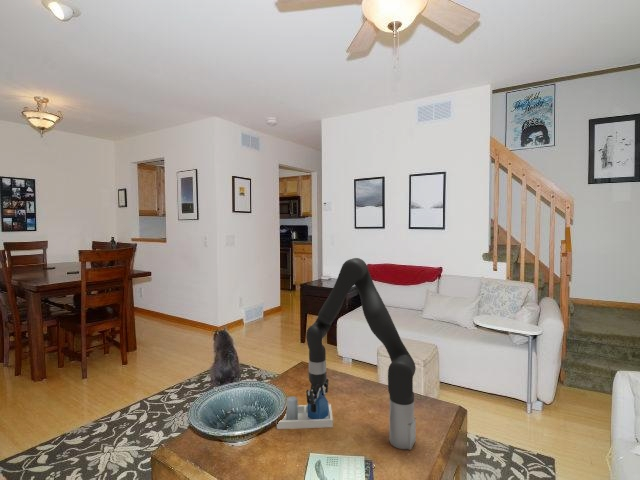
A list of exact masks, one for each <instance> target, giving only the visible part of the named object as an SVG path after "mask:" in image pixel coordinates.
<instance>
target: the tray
mask: <svg viewBox="0 0 640 480" xmlns="http://www.w3.org/2000/svg"><path fill="white" fill-rule="evenodd" d="M318 428H319V429H320V428H321V429H323V428H334V419H333V412H332V404H331V403H328V416H327V417H325V418H324V419H311V418H309V417H308V404H303V405H302V404H298V420H286V414H285V416H284V418H283V419H282V420H280V421H279V422H278V424H277V423H276V430H293V429H294V430H295V429H318Z"/></svg>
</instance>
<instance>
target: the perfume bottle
mask: <svg viewBox="0 0 640 480" xmlns="http://www.w3.org/2000/svg"><path fill="white" fill-rule="evenodd" d="M313 395H314V396H316V395H315V394H313ZM313 401H314V398H313ZM328 404H329V401H328V399H327V398H326V395H325V396H323V395H322V391H321V390H320V392H319V396H318V398H317V400H316V412H315V413H314V412H311V404H308V403H307V405H308V417H309V418H311V419H324V418H325V417H327V416H328Z"/></svg>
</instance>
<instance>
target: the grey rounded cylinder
mask: <svg viewBox="0 0 640 480" xmlns="http://www.w3.org/2000/svg"><path fill="white" fill-rule="evenodd" d="M286 399H287V410H286V420H298V405H299V403H298V397H297V396H294V395H293V396H287V397H286V398H285V400H286Z"/></svg>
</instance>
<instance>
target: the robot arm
mask: <svg viewBox="0 0 640 480" xmlns="http://www.w3.org/2000/svg"><path fill="white" fill-rule="evenodd" d="M354 286H355V288H356V290H357V292H358V294H359V298H360V302H361V307H362V313H363V316H364V317H365V320H366V322H367V324H368V326H369V329H370V331H371V332H372V333H373V335H374V336H375V338H377V339H378V340H379V341H380V342H381V343H382V345H383V346H384V348H385V349H386V352H387V353H388V356H389V358H390V361H391V363H390V364H389V366H388V370H387V387H388V388H387V389H388V394H389V422H388V423H389V424H388V425H389V426H388V427H389V432H388V433H389V435H388V436H389V437H388V439H389V443H390V444H391V445H392V446H393V447H394V448H396V449H399V450H409V451H412V450H413V449H412V448H413V447H414V445H415V443H416V431H417V430H416V429H417V426H416V424H417V421H416V420H417V419H416V417H415V392H414V386H413V385H414V384H413V383H414V376H415V374H416V369H417V368H416V363H415V361H414V359H413V357H412V356H411V354H410V353H409V351H408V349H407V347H406V346H405V344H404V343H403V340H402V339H401V336H400V335H399V332H398V330H397V328H396V325H395V323H394V321H393V319H392V317H391V314H390V313H389V311H388V309H387V306H386V305H385V304H384V301H383V299H382V297H381V295H380V293H379V291H378V290H377V288H376V286H375V284H374V281H373V279H372V276H371V272H370V271H369V268H368V265H367V263H366V262H365V260H363V259H362V258H360V257H354V258H350V259H347V260H345V262H344V263H343V264H342V265H341V267H340V270H339V273H338V276H337V279H336V281H335V284H334V285H333V287H332V289H331V291H330V293H329V295H328V297H327V298H326V300H325V301H324V303H323V305H322V307H321V308H320V309H319V310H318V314H317V318H316V320H315V321H314V323H313V324H312V325H310V326H308V328H307V330H306V335H305V338H306V343H307V348H308V382H309V383H310V388H309V389H306V391H305V393H306V403H307V405H308V404H311V412H314V413H315V412H316V400H317V398H318V396H319V392H320V390H321V391H322V395H323V396H325V397H326V395H327V394H328V393H329V378H327V362H326V359H327V356H326V352H327V351H326V347H325V345H323V339H324V337H326V335H327V334H328V332H329V330H330V328H331V326H332V324H333V322H334V321H335V319H336V318H337V316H338V314H339V312H340V311H341V309H342V308H343V304H344V301H345V299H346V297H347V295H348V294H349V292H350V290H352V289H353V287H354ZM314 394H315V395H316V396H314ZM313 398H314V401H313Z"/></svg>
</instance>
